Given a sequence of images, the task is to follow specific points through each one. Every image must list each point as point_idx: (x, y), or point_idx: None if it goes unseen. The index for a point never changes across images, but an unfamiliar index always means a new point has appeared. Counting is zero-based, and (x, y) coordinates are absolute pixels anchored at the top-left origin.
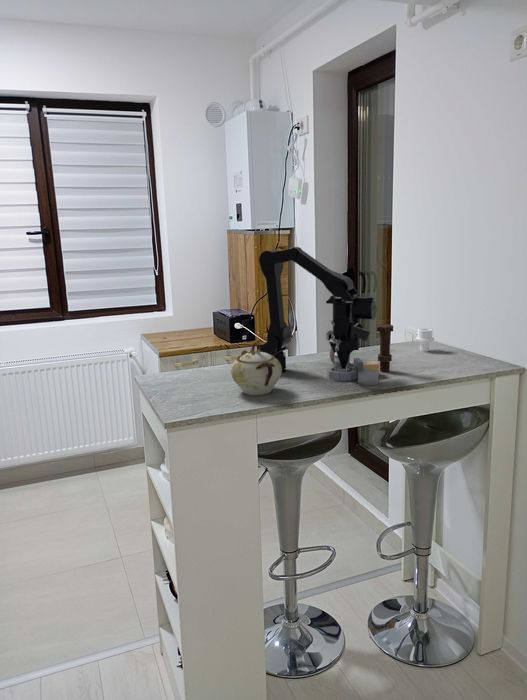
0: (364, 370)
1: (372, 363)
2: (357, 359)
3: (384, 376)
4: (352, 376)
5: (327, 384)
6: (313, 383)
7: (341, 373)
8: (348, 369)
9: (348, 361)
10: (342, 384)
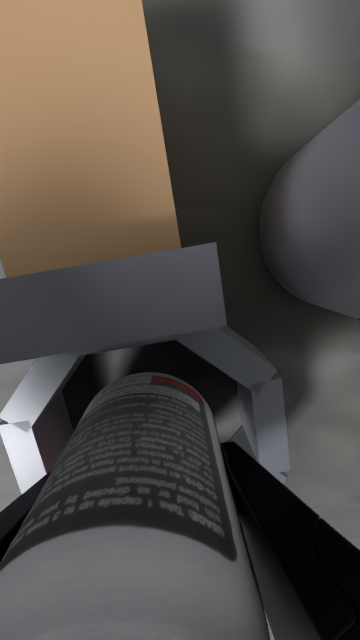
0: (351, 244)
1: (89, 77)
2: (52, 320)
3: (150, 22)
4: (256, 349)
5: (336, 504)
6: None
7: (286, 457)
8: (190, 399)
9: (199, 459)
10: (355, 416)
